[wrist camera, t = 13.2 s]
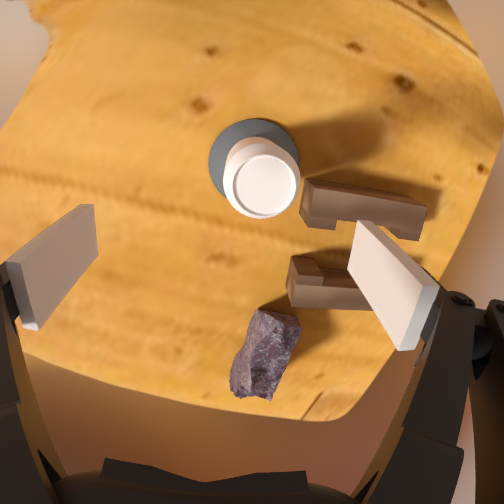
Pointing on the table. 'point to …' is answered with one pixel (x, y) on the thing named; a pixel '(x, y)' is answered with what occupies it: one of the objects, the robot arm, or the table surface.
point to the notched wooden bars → (325, 217)
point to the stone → (264, 354)
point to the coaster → (239, 133)
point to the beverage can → (260, 178)
